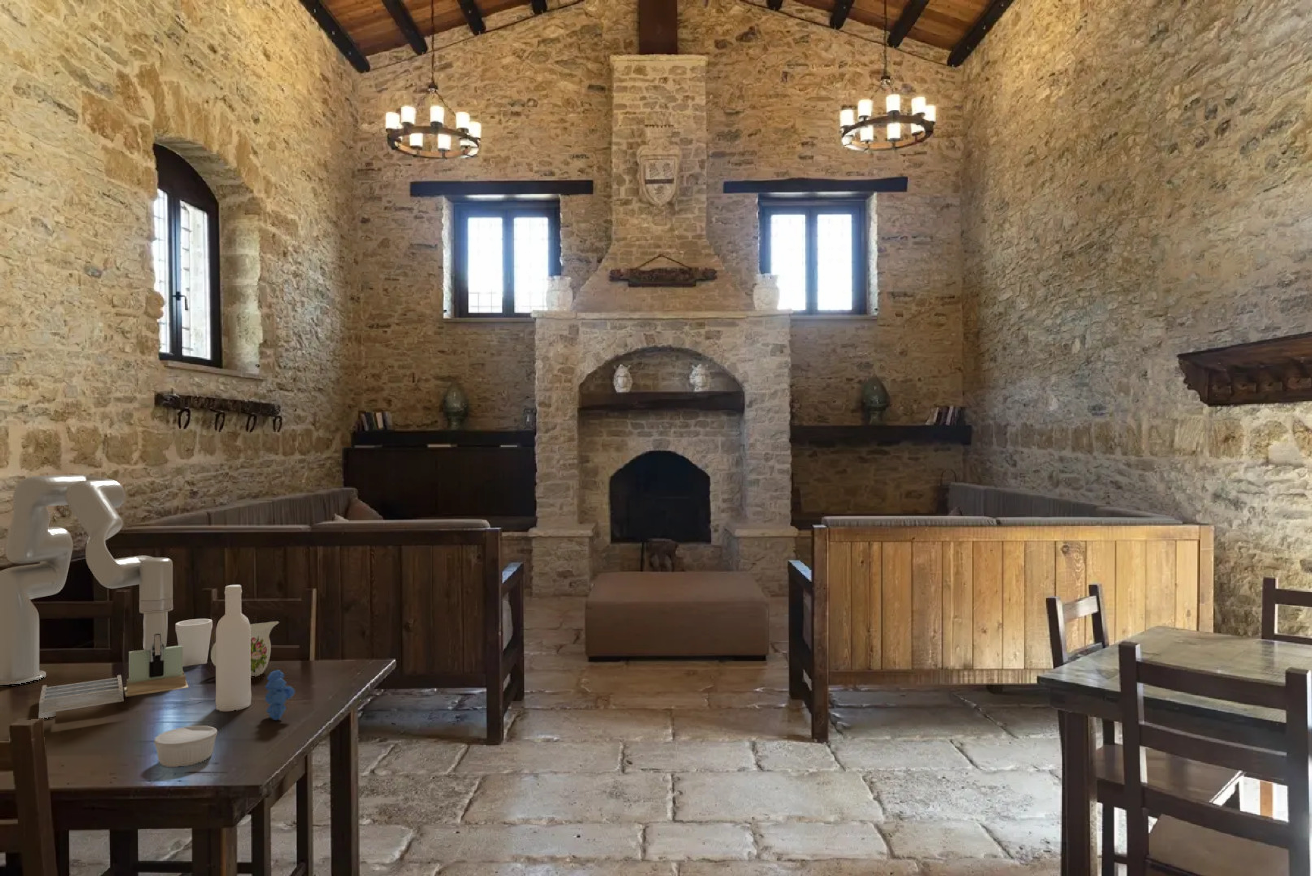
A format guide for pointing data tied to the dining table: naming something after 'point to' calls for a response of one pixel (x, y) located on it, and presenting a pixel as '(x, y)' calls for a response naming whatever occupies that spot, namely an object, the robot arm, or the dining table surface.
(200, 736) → the ramekin
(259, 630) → the pitcher
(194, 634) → the foam cup
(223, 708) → the bottle
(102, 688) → the rack
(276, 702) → the grapes
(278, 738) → the dining table surface
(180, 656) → the sage green plank
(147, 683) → the stand
